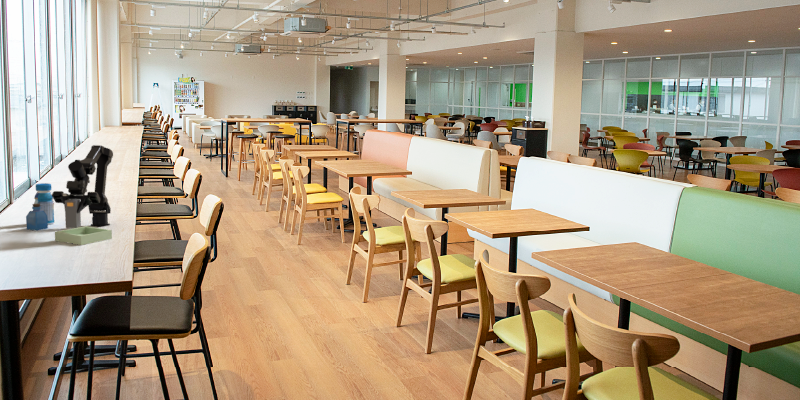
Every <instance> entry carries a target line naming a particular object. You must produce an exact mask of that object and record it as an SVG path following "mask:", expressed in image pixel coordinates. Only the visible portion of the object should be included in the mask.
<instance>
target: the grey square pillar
mask: <svg viewBox="0 0 800 400" xmlns="http://www.w3.org/2000/svg"><path fill="white" fill-rule="evenodd" d="M79 203H80V199H69V200H66V201H65V207H64V216H65V228H66V229H73V228H79V227H82V221H81V220H82V219H81V217H82V216H81V215H82V214H81V211H80V212H79V213H77V209H78V206H79Z"/></svg>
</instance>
